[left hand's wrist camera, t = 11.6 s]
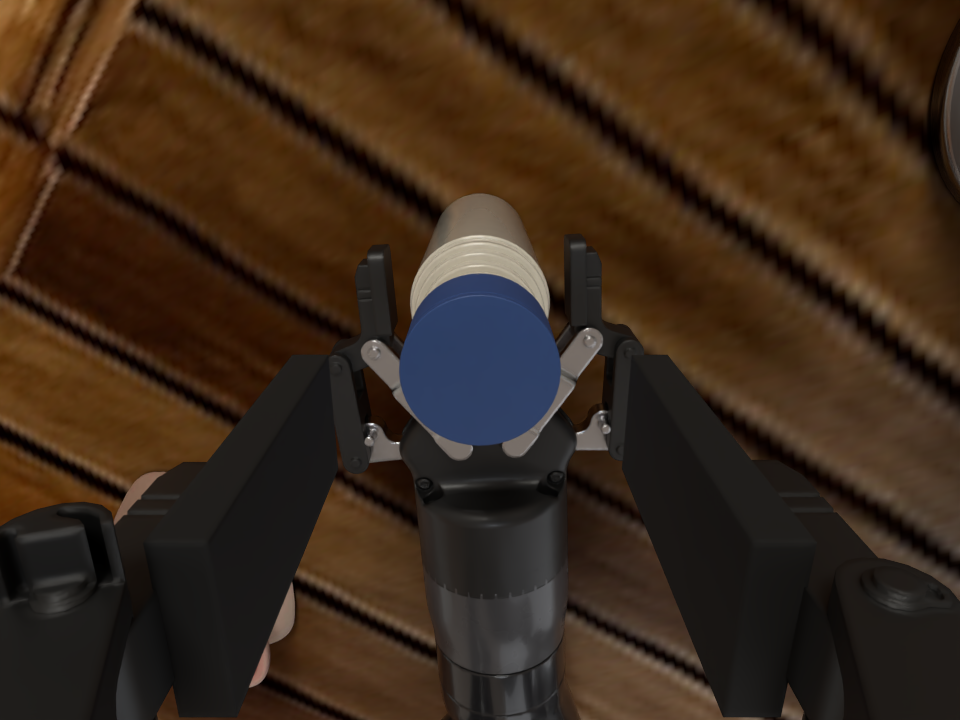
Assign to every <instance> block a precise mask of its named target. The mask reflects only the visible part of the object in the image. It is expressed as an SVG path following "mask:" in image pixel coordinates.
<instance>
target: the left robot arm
mask: <svg viewBox="0 0 960 720" xmlns="http://www.w3.org/2000/svg"><path fill="white" fill-rule="evenodd" d="M930 123H931V139H932V145H933V151H934V155H935V159H936V163H937V166H938V168H939V171H940V173H941V176H942V178H943V180H944V182H945V184H946V186H947V188H948V189H949V191H950V192H951V194H952V195H953V196H954V198H955V199H956V200H957V202H958V203H959V204H960V19H959V21H958V23H957V25H956V27H955V29H954V31H953V33H952V35H951V37H950V39H949V41H948V44H947V46H946V48H945V51H944V53H943V56H942V59H941V62H940V65H939V68H938V71H937V75H936V80H935V84H934V88H933V95H932V102H931V117H930ZM337 470H338V463H337V451H336V439H335V427H334V415H333V403H332V391H331V380H330V368H329V356H328V355H292V356H291V358H290V359H289V360H288V361H287V363H286V364H285V365H284V366H283V368H282V369H281V370H280V371H279V373H278V374H277V375H276V376H275V378H274V379H273V380H272V381H271V383H270V384H269V385H268V386H267V388H266V389H265V390H264V391H263V393H262V394H261V395H260V396H259V398H258V399H257V400H256V401H255V403H254V404H253V405H252V406H251V408H250V409H249V410H248V411H247V413H246V414H245V415H244V416H243V418H242V419H241V420H240V422H239V423H238V424H237V425H236V427H235V428H234V429H233V430H232V432H231V433H230V434H229V435H228V437H227V438H226V439H225V440H224V442H223V443H222V444H221V445H220V447H219V448H218V449H217V450H216V452H215V453H214V454H213V455H212V457H211V458H210V459H209V460H208V462H183V463H181V464H180V465H178V466H176V467H175V468H173V469H171V470H169V471H168V472H166V473H164V474H163V475H161V476H159V477H158V478H157V479H156V480H155V481H154V482H153V483H152V484H151V485H150V486H149V488H148V489H147V490H146V491H145V492H144V493H143V494H142V495H141V499H138V500H137V501H136V502H135V503H134V504H133V505H132V506H131V507H130V509H129V510H128V511H127V515H123V516H122V517H121V519H120V520H119V521H118V522H117V523H116V524H115V525H114V522H113V517H112V513H111V512H110V511H109V510H108V509H106V508H105V507H104V506H102V505H99V504H93V503H87V502H76V503H62V504H57V505H53V506H49V507H45V508H40V509H37V510H34V511H31V512H29V513H26V514H24V515H21V516H19V517H16V518H14V519H12V520H10V521H9V522H7V523H5V524H4V525H2V526H0V720H158V718H157V712H158V710H159V708H160V706H161V705H162V703H163V701H164V699H165V697H166V695H167V694H168V692H169V690H170V688H171V686H172V684H173V689H174V694H175V699H176V703H177V708H178V713H179V717H237V716H238V713H239V711H240V708H241V706H242V703H243V701H244V698H245V696H246V693H247V691H248V689H249V686H250V684H251V681H252V679H253V676H254V674H255V671H256V669H257V666H258V664H259V662H260V659H261V657H262V654H263V652H264V649H265V647H266V644H267V642H268V639H269V637H270V635H271V632H272V630H273V627H274V625H275V622H276V620H277V617H278V615H279V612H280V610H281V607H282V605H283V603H284V600H285V598H286V595H287V593H288V590H289V588H290V585H291V583H292V580H293V578H294V576H295V573H296V571H297V568H298V566H299V563H300V561H301V558H302V556H303V553H304V551H305V549H306V546H307V544H308V541H309V539H310V536H311V534H312V531H313V529H314V526H315V524H316V522H317V519H318V517H319V514H320V512H321V509H322V507H323V504H324V502H325V499H326V497H327V495H328V492H329V490H330V487H331V485H332V482H333V480H334V477H335V475H336V472H337ZM622 470H623V472H624V475H625V477H626V480H627V482H628V485H629V487H630V490H631V492H632V495H633V497H634V499H635V502H636V504H637V507H638V509H639V512H640V514H641V517H642V519H643V522H644V524H645V526H646V529H647V531H648V534H649V536H650V539H651V541H652V544H653V546H654V549H655V551H656V553H657V556H658V558H659V561H660V563H661V566H662V568H663V571H664V573H665V576H666V578H667V580H668V583H669V585H670V588H671V590H672V593H673V595H674V598H675V600H676V603H677V605H678V607H679V610H680V612H681V615H682V617H683V620H684V622H685V625H686V627H687V630H688V632H689V635H690V637H691V639H692V642H693V644H694V647H695V649H696V652H697V654H698V657H699V659H700V662H701V664H702V666H703V669H704V671H705V674H706V676H707V679H708V681H709V684H710V686H711V689H712V691H713V693H714V696H715V698H716V701H717V703H718V706H719V708H720V711H721V713H722V716H723V717H781V713H782V708H783V703H784V699H785V694H786V689H787V684H788V683H789V685H790V687H791V688H792V690H793V692H794V694H795V696H796V698H797V699H798V701H799V703H800V705H801V707H802V708H803V710H804V714H803V718H802V720H960V601H959V600H958V599H957V598H956V596H955V595H954V594H953V593H952V591H951V590H950V589H949V588H947V587H946V586H944V585H943V584H942V583H940V582H939V581H937V580H936V579H935V578H933V577H932V576H930V575H928V574H926V573H924V572H922V571H919V570H917V569H915V568H913V567H911V566H909V565H905V564H902V563H898V562H894V561H891V560H887V559H881V558H878V557H877V556H876V555H875V554H874V553H873V552H872V551H871V550H870V549H869V547H868V546H867V545H866V544H865V543H864V542H863V541H862V540H861V539H860V538H859V536H858V535H857V534H856V533H855V532H854V531H853V530H852V529H851V528H850V527H849V525H848V524H847V523H846V522H845V521H844V520H843V519H842V518H841V517H840V516H839V514H838V513H834V512H833V508H832V507H831V506H830V505H829V503H828V502H827V501H826V500H825V499H824V498H823V497H820V495H819V492H818V491H817V490H816V489H815V488H814V487H813V486H812V485H811V484H810V483H809V481H808V480H807V479H806V478H805V477H804V476H803V475H801V474H800V473H798V472H796V471H795V470H793V469H791V468H790V467H788V466H786V465H784V464H783V463H781V462H779V461H778V460H751V459H750V458H749V457H748V455H747V454H746V453H745V452H744V450H743V449H742V448H741V447H740V445H739V444H738V443H737V442H736V440H735V439H734V438H733V437H732V435H731V434H730V433H729V432H728V430H727V429H726V428H725V427H724V425H723V424H722V423H721V422H720V420H719V419H718V418H717V416H716V415H715V414H714V413H713V411H712V410H711V409H710V408H709V406H708V405H707V404H706V403H705V401H704V400H703V399H702V398H701V396H700V395H699V394H698V393H697V391H696V390H695V389H694V388H693V386H692V385H691V384H690V383H689V381H688V380H687V379H686V378H685V376H684V375H683V374H682V373H681V371H680V370H679V369H678V368H677V366H676V365H675V364H674V363H673V361H672V360H671V359H670V358H669V356H668V355H632V356H631V368H630V380H629V391H628V403H627V415H626V427H625V439H624V451H623V463H622Z"/></svg>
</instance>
